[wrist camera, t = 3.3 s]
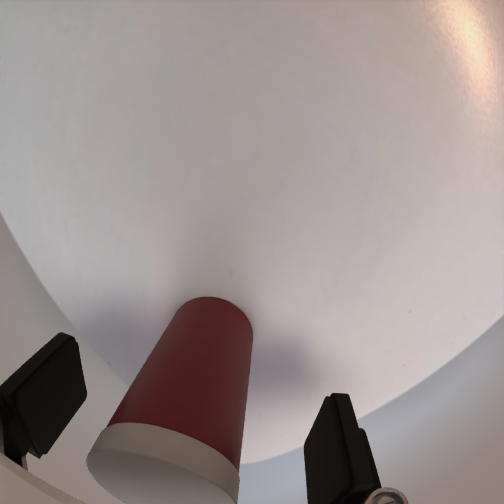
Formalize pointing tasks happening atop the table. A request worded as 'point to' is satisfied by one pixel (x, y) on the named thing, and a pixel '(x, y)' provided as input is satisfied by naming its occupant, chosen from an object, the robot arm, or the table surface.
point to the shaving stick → (182, 413)
